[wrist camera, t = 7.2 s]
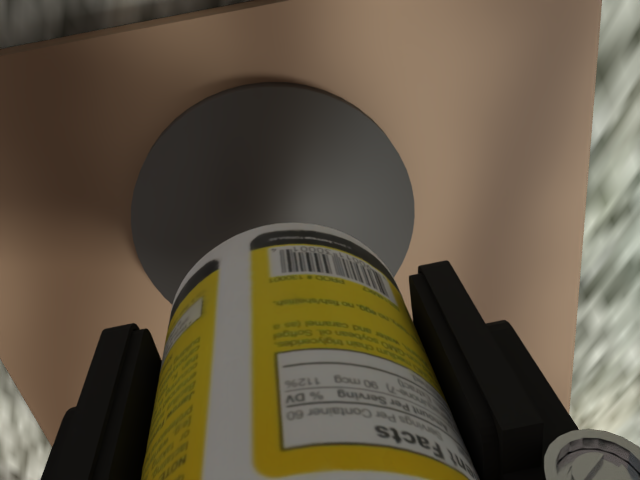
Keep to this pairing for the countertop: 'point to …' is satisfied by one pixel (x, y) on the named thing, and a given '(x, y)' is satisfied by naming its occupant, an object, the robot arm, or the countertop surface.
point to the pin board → (292, 163)
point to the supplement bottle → (298, 369)
